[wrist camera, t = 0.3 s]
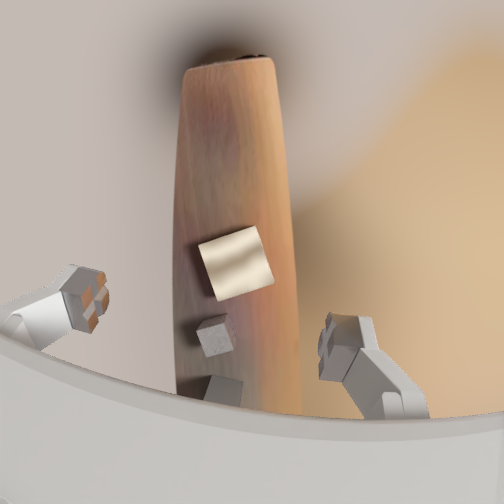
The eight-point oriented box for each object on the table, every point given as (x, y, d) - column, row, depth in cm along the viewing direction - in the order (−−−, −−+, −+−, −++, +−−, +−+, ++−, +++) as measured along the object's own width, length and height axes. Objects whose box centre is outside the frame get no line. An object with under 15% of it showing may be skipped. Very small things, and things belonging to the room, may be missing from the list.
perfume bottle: (212, 374, 66) (196, 419, 48) (243, 381, 66) (236, 428, 48) (207, 399, 66) (190, 447, 49) (236, 406, 66) (228, 456, 48)
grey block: (237, 337, 65) (233, 349, 58) (212, 344, 65) (206, 357, 58) (228, 313, 65) (223, 323, 58) (203, 320, 65) (196, 331, 58)
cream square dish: (273, 278, 64) (274, 283, 59) (221, 295, 65) (217, 301, 60) (255, 225, 64) (255, 225, 59) (203, 243, 64) (198, 245, 59)
